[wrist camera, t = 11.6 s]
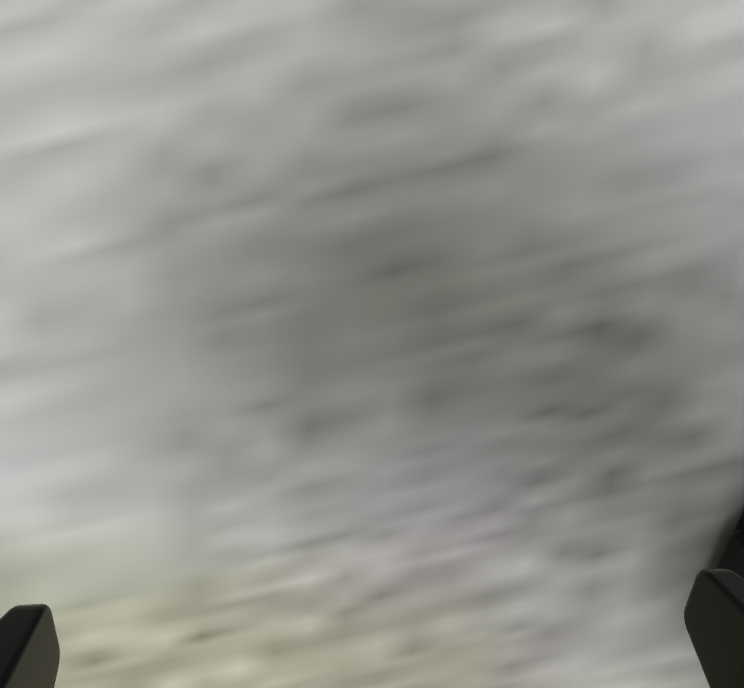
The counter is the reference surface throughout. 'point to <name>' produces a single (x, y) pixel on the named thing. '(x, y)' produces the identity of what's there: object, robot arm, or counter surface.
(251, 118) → the counter surface
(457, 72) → the counter surface
